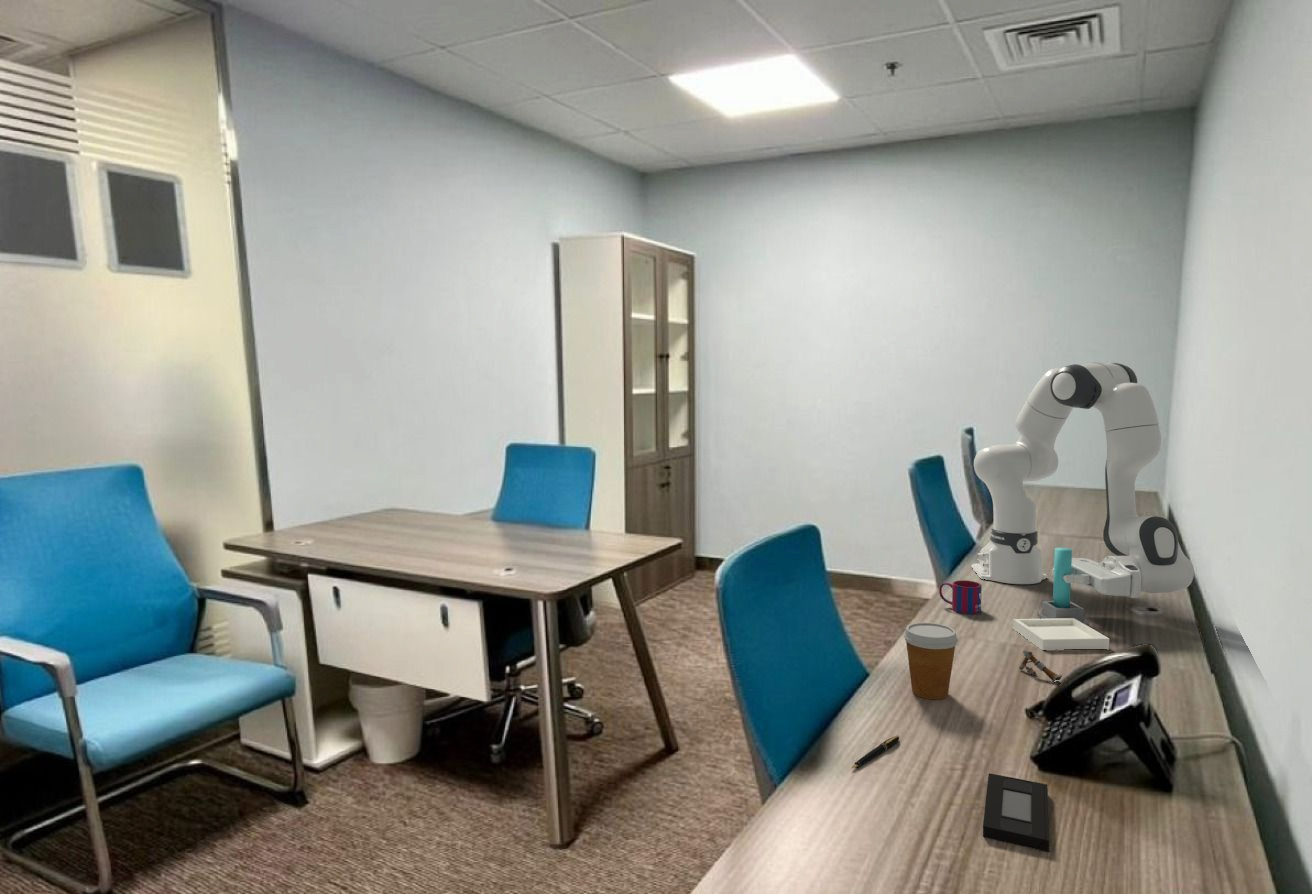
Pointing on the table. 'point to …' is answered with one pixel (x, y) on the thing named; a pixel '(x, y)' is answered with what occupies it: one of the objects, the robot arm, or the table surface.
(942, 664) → the disposable coffee cup
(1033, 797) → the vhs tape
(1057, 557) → the dowel
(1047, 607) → the holder
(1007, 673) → the table surface
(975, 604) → the cup
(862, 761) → the fountain pen
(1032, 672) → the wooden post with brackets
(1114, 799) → the table surface
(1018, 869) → the table surface
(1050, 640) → the tray
